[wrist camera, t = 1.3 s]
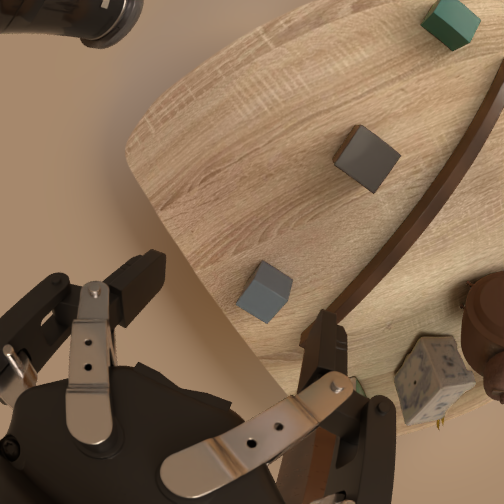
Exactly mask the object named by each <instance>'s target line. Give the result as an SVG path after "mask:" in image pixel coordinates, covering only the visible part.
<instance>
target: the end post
mask: <svg viewBox="0 0 504 504" xmlns="http://www.w3.org/2000/svg"><path fill="white" fill-rule="evenodd" d="M304 352H305V349H304ZM303 358H304V355H303ZM302 364H303V361H302ZM301 370H302V367H301ZM300 376H301V373H300ZM299 382H300V379H299ZM298 387H299V384H298ZM297 393H298V389H297ZM335 440H336V435H334V434H332V433H330V432H329V431H327V430H325V429H323V428H321V427H319V428H317V429H316V430H315V431H314V432H312V433H311V434H310V435H309V436H307V437H306V438H305V439H303V440H302V441H301V442H300V443H298V444H297V445H296V446H294V447H293V448H292V449H290V450H289V451H288V452H286V453H285V454H284V455H283V458H282V463H281V467H280V470H279V474H278V478H277V482H276V485H277V487H278V489H279V491H280V493H281V495H282V497H283V499H284V501H285V503H286V504H310V503H311V502H312V501H314V500H316V499H319V498H322V497H323V496H324V492H325V488H326V484H327V479H328V475H329V470H330V466H331V461H332V456H333V451H334V445H335Z"/></svg>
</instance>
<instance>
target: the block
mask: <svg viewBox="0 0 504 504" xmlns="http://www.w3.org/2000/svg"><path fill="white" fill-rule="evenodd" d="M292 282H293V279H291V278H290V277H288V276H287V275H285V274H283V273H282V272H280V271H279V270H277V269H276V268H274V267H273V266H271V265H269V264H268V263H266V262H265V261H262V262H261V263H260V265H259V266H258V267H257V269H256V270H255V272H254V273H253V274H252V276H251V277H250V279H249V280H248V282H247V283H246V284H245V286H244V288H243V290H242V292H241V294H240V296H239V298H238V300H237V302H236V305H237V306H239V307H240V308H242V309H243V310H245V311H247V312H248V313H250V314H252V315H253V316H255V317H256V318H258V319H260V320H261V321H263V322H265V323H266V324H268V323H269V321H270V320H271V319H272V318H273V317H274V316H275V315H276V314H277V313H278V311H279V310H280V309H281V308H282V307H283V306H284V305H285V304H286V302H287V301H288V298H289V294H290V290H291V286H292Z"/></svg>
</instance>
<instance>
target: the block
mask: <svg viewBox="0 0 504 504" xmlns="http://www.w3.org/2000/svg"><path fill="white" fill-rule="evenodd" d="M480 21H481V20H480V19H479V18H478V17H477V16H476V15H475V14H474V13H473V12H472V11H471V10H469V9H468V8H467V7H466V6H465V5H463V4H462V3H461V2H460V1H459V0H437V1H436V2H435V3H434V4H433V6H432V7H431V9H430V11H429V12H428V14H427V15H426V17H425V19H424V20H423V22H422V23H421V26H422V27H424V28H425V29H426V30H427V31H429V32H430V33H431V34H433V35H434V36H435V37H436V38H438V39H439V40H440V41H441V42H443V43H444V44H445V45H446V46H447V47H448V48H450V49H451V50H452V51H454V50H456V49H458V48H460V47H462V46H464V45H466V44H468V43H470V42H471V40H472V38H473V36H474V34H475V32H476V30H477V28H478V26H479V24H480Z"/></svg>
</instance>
